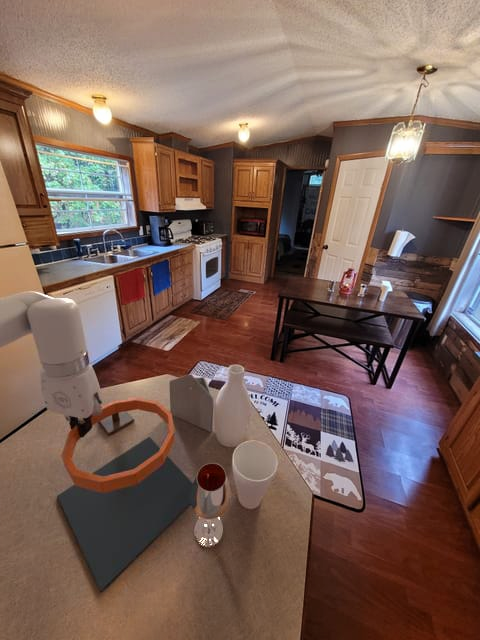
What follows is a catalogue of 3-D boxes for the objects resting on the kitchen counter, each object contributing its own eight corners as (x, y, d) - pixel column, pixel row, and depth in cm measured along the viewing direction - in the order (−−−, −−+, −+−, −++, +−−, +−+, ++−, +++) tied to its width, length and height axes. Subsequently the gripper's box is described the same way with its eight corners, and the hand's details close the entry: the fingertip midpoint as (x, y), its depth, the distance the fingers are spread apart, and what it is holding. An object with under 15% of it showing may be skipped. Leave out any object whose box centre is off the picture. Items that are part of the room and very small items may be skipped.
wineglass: (231, 516, 59) (237, 463, 52) (220, 559, 52) (225, 504, 44) (198, 505, 60) (199, 453, 53) (183, 545, 53) (182, 490, 46)
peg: (98, 421, 81) (95, 406, 79) (122, 408, 87) (120, 394, 84) (109, 435, 76) (106, 420, 74) (134, 421, 82) (132, 407, 80)
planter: (223, 416, 87) (226, 369, 79) (211, 432, 80) (213, 383, 73) (184, 400, 93) (183, 355, 85) (170, 414, 86) (167, 366, 78)
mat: (57, 497, 60) (56, 495, 60) (149, 437, 77) (149, 436, 77) (101, 592, 46) (100, 591, 46) (201, 494, 63) (201, 493, 63)
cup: (253, 530, 57) (259, 492, 51) (220, 497, 63) (222, 459, 57) (278, 495, 64) (286, 458, 59) (246, 468, 70) (251, 432, 65)
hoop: (51, 442, 54) (48, 432, 53) (143, 396, 69) (142, 387, 68) (92, 518, 42) (89, 506, 40) (192, 441, 57) (192, 431, 55)
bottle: (229, 417, 87) (234, 353, 77) (255, 435, 81) (264, 369, 70) (205, 436, 79) (207, 368, 69) (231, 458, 73) (238, 387, 62)
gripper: (13, 365, 47) (37, 437, 54) (87, 380, 45) (102, 453, 52) (48, 346, 54) (66, 412, 61) (114, 358, 51) (124, 425, 59)
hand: (82, 431), depth 56 cm, fingers closed on hoop, 1 cm apart
